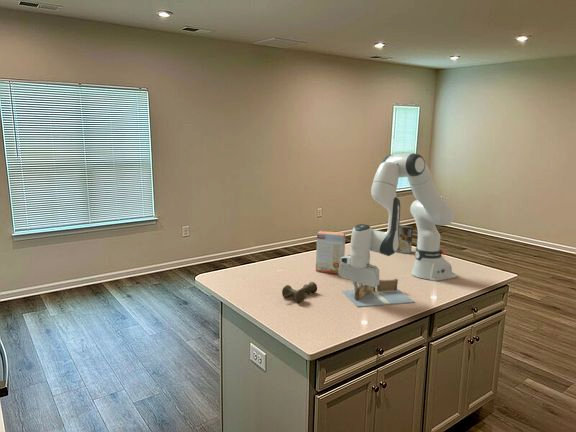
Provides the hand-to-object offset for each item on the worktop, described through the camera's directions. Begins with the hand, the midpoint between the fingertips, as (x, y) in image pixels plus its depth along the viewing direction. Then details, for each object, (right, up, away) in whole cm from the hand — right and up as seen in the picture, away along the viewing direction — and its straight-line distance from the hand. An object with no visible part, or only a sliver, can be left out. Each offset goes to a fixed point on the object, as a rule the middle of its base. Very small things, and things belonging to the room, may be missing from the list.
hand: (357, 290), depth 195 cm
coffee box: (+40, +11, +75) cm, 86 cm away
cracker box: (-9, +4, +34) cm, 36 cm away
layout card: (+9, -3, +1) cm, 10 cm away
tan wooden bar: (+4, -2, +1) cm, 4 cm away
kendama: (-26, -3, -2) cm, 26 cm away
